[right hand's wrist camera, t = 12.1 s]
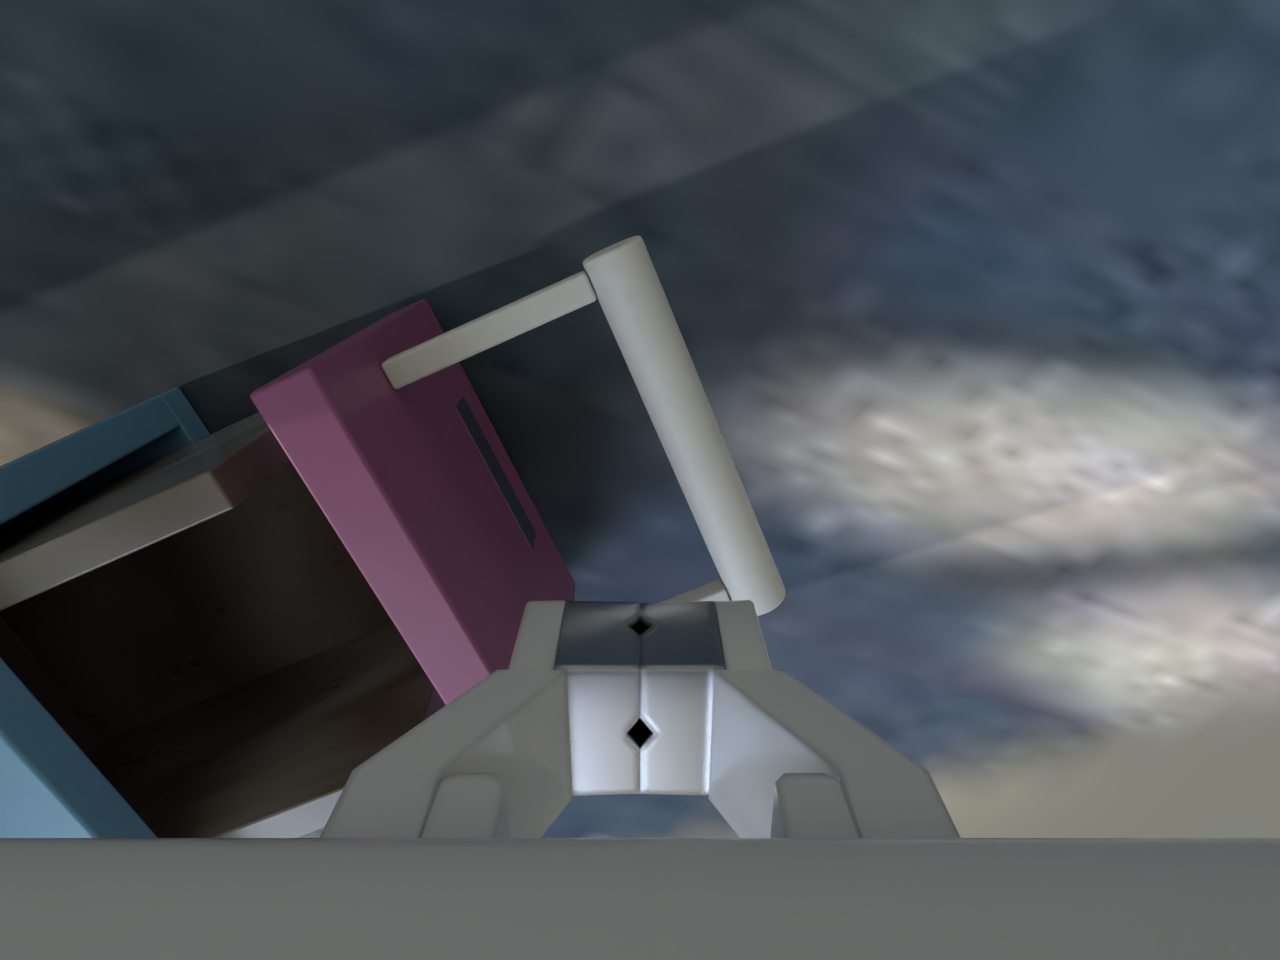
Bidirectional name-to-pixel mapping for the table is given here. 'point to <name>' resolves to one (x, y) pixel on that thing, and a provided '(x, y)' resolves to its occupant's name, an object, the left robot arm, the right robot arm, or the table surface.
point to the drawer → (332, 564)
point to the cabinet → (3, 706)
